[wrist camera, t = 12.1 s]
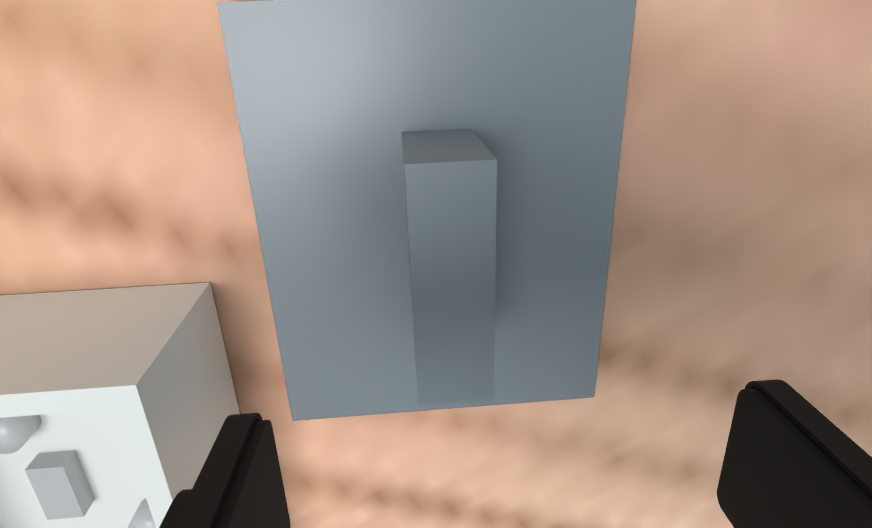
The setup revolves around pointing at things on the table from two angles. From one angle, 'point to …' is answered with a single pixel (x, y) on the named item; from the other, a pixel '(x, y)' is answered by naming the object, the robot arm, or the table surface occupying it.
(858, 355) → the table surface
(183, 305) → the tub
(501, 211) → the lid
